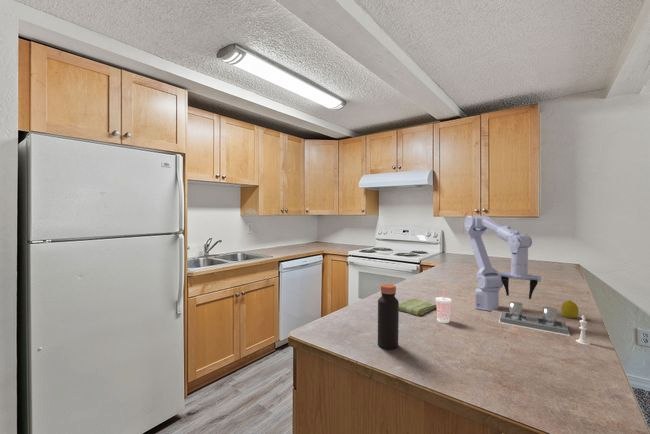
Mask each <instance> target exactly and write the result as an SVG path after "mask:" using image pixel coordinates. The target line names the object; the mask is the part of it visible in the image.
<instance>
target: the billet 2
mask: <svg viewBox="0 0 650 434" xmlns="http://www.w3.org/2000/svg"><path fill="white" fill-rule="evenodd" d="M542 318H543V325H549V326H554V327H557V320H558V309H557V308H556V307H551V306H542Z"/></svg>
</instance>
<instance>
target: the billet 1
mask: <svg viewBox="0 0 650 434" xmlns="http://www.w3.org/2000/svg"><path fill="white" fill-rule="evenodd" d="M508 307H509V308H508V309H509V310H508V312H509V319H515V320H520V321H522V315H523V303H522V302H519V301H509V306H508Z"/></svg>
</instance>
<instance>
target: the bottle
mask: <svg viewBox="0 0 650 434" xmlns="http://www.w3.org/2000/svg"><path fill="white" fill-rule="evenodd" d="M396 293H397V286H396V285H394V284H390V283H383V284H381V285H380V294H381V296H380V297H379V298H378V300H377V346H378V347H380V348H381V349H383V350H394V349H397V348H398V347H399V326H400V325H399V314H400V312H399V303H400V302H399V300H398V299H397V298H396V295H397V294H396Z"/></svg>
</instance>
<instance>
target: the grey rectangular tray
mask: <svg viewBox="0 0 650 434" xmlns="http://www.w3.org/2000/svg"><path fill="white" fill-rule="evenodd" d="M497 323H498V324H503V325H509V326H513V327H517V328H518V327H519V328H524V329H530V330H535V331H539V332H546V333H551V334H556V335H562V336H565V337H566V336H567V337H571V334H570V331H569V329H568V326H567V323H566V321H562V320H559V319H557V327H554V326H549V325H543V317H539V316H535V315H534V316H533V315H528V314H522V321H520V320H515V319H509V311H503V310H502V311H501V313H500V315H499V320H498V322H497Z"/></svg>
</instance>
